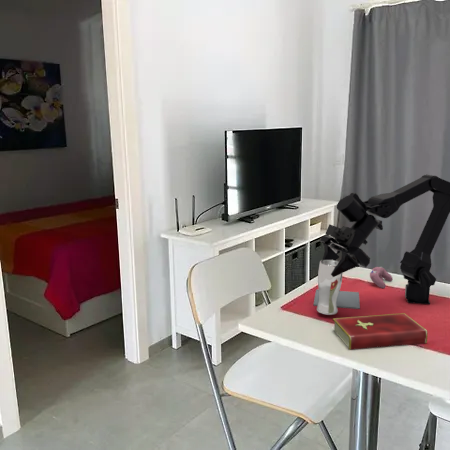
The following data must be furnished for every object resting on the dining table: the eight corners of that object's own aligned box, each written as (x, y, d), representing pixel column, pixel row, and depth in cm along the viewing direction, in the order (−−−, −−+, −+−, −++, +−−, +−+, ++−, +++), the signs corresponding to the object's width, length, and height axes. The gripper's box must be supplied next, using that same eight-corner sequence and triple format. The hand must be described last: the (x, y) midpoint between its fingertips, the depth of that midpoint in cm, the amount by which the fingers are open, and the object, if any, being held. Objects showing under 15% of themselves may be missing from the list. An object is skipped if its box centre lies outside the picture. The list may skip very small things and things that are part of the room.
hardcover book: (426, 345, 126) (427, 329, 125) (349, 351, 123) (349, 336, 122) (403, 326, 137) (404, 312, 136) (332, 331, 134) (332, 317, 134)
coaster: (358, 293, 162) (358, 292, 162) (359, 309, 149) (359, 307, 149) (316, 290, 165) (316, 289, 165) (313, 305, 152) (313, 304, 152)
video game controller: (382, 283, 176) (374, 265, 176) (394, 280, 173) (386, 261, 174) (373, 291, 168) (365, 272, 168) (385, 288, 165) (377, 269, 166)
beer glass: (339, 316, 141) (344, 267, 138) (315, 314, 142) (319, 265, 139) (338, 307, 148) (342, 260, 144) (315, 305, 149) (318, 258, 145)
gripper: (325, 209, 148) (293, 248, 147) (362, 220, 131) (326, 265, 130) (347, 231, 152) (316, 269, 151) (385, 245, 135) (350, 288, 134)
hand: (326, 272), depth 142 cm, fingers closed on beer glass, 6 cm apart
